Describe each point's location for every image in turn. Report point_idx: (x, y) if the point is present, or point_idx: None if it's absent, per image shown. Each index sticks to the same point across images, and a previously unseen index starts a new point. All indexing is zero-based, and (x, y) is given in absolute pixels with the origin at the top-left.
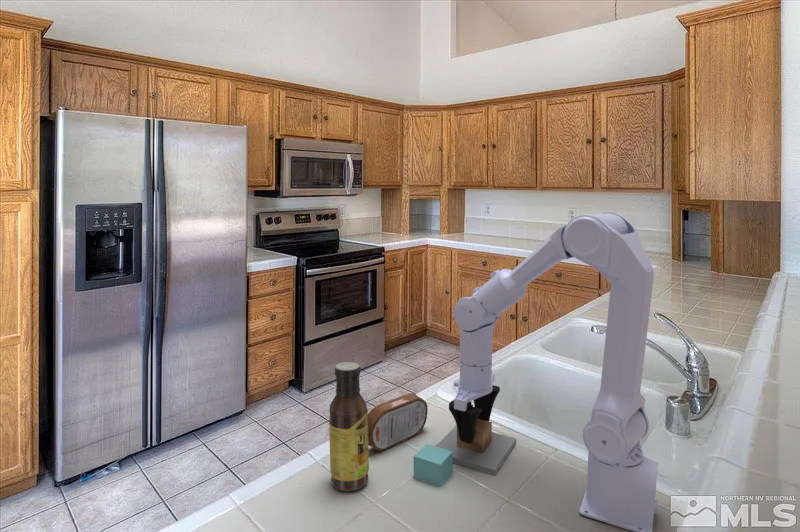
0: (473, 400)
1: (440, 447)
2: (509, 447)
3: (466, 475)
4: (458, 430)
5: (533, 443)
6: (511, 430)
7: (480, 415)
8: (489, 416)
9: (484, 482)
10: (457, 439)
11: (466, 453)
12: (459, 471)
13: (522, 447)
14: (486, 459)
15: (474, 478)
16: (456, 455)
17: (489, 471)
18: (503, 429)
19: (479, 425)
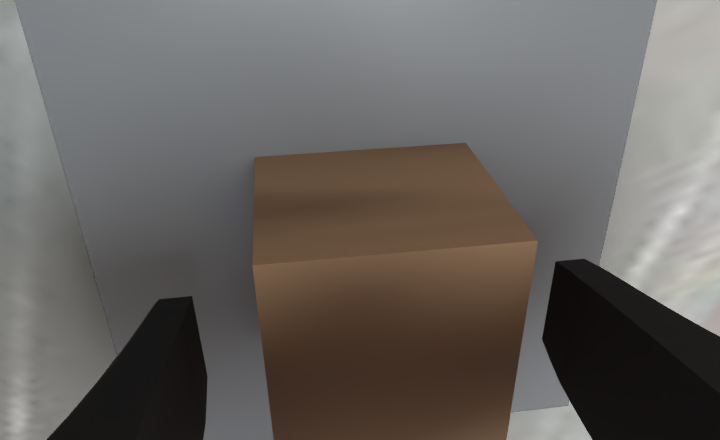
0: (718, 389)
1: (140, 43)
2: None
3: (26, 322)
4: (110, 366)
5: (587, 435)
6: (708, 304)
7: (593, 343)
8: (587, 418)
9: (48, 418)
10: (256, 191)
11: (204, 262)
12: (30, 271)
13: (522, 415)
14: (222, 385)
15: (38, 367)
16: (125, 218)
17: None
18: (709, 263)
19: (391, 411)
